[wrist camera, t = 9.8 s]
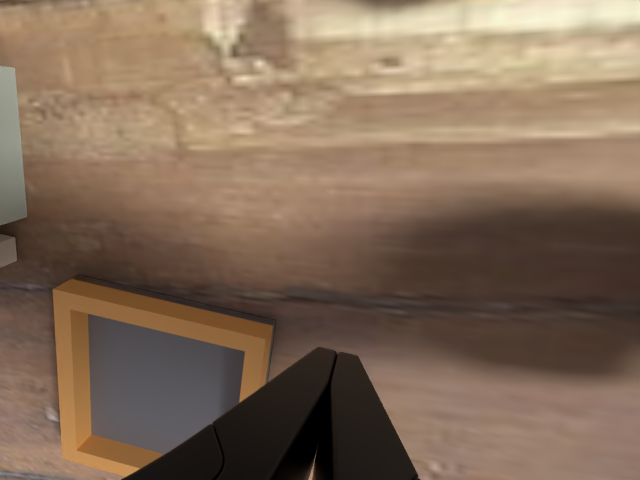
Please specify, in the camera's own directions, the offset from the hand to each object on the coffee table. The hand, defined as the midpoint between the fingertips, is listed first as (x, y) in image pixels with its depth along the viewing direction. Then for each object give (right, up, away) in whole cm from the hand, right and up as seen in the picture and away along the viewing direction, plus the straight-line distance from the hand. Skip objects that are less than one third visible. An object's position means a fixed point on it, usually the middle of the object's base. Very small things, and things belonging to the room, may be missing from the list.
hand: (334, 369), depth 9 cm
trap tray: (-9, -6, +18) cm, 21 cm away
